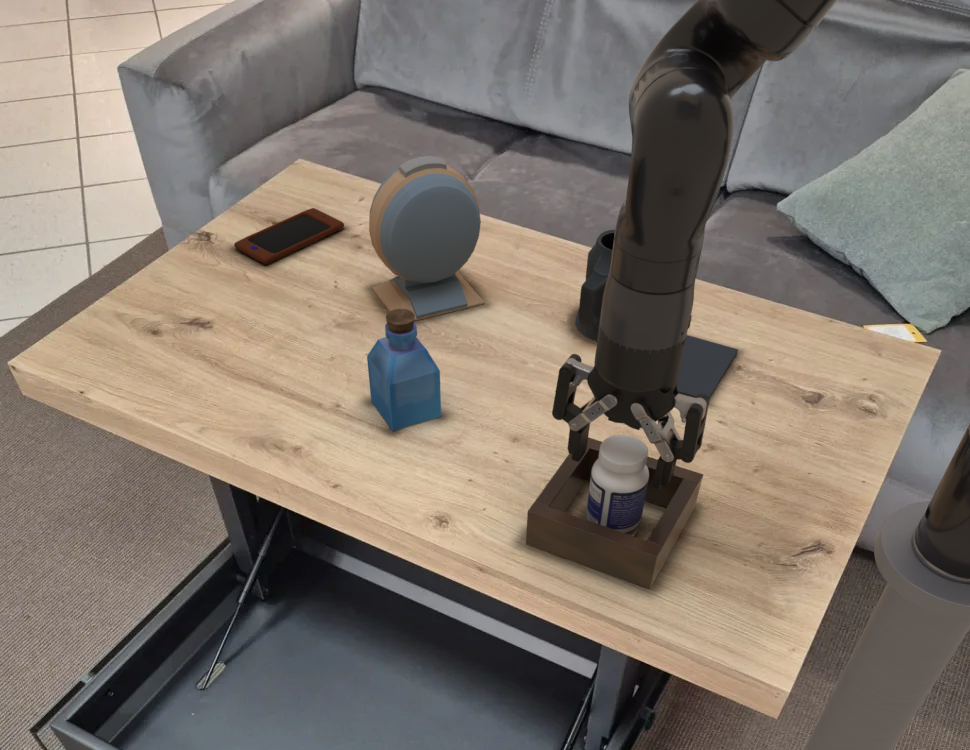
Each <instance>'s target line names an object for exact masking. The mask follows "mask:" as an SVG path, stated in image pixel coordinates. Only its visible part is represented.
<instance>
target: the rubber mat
mask: <svg viewBox="0 0 970 750" xmlns="http://www.w3.org/2000/svg"><path fill="white" fill-rule="evenodd" d="M738 352H739V349H738V348H735V347H731V346H727V345H724V344H722V343H721V344H720V343H717V342H713V341H710V340H706V339H702V338H699V337H695V336H692V335H688V334H687V336H686V341H685V345H684V350H683V355H682V359H681V364H680V369H679V373H678V378H677V388H678V391H679V394H682V395H686V396H690V397H694V398H696V397H697V395H699V394H701V393H703V394H706V395H707V396H708V397H709V400H710V399H711V397H712V396H713V394H714V392H715V391H716V389H717V387H718V386H719V384H720V382H721V381H722V379H723V377H724V375H725V374H726V373H727V371H728V369H729V368H730V366H731V365H732V362H733V360H735V358H736V356H737V354H738Z"/></svg>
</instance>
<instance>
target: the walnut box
mask: <svg viewBox="0 0 970 750" xmlns="http://www.w3.org/2000/svg"><path fill="white" fill-rule="evenodd" d="M602 442H603V441H601V440H599V439H595V438H591V437H589V436H588V443H587V449H586V452H585V454H584V455H583V457H582V458H581V460H580V461H579V462H577V461H574V460H572V454H570V453H569V452H568V455H567V456H566V458H565V459H564V460H563V462H562V463H561V464H560V466H559V467H558V468H557V470H556V471H555V473H554V474H553V476H552V477H551V478H550V479H549V481H548V483H547V484H546V485H545V486H544V488H543V489H542V490H541V492H540V494H539V495H538V496H537V498H536V499H535V501H534V502H533V503H532V505H531V506H530V507H529V509H528V510H527V517H526V533H525V545H528V546H530V547H533V548H536V549H539V550H541V551H544V552H547V553H550V554H551V555H552V554H553V555H555V556H557V557H561V558H563V559H565V560H569V561H572V562H575V563H577V564H579V565H582V566H586V567H589V568H591V569H594V570H597V571H599V572H602V573H604V574H607V575H610V576H612V577H615V578H619V579H621V580H624V581H627V582H630V583H632V584H635V585H637V586H639V587H643V588H645V589H648V590H650V589H651V588H652V587H653V585H654V583H655V581H656V579H657V577H658V575H659V574H660V572H661V570H662V568H663V566H664V565H665V563H666V561H667V559H668V557H669V555H670V553H671V552H672V550H673V548H674V547H675V545H676V543H677V541H678V539H679V537H680V536H681V534H682V532H683V530H684V528H685V526H686V524H687V523H688V521H689V519H690V517H691V515H692V514H693V512H694V510H695V508H696V506H697V503H698V502H697V501H698V497H699V494H700V489H701V487H702V486H701V485H702V481H703V477H704V474H703V473H701V472H697V471H694V470H691V469H688V468H685V467H681V466H679V465H676V466H675V470H674V474H673V476H672V478H671V480H670V481H669V483H668V484H667V485H666V486H663V485H662V486H661V488H660V490H658V489H655V488H652V485H653V481H654V476H655V471H656V466H657V462H658V458H654V457H651V456H648V457H647V463H646V466H647V468H648V471H649V479H648V485H647V490H646V496H645V501H644V502H649V503H651V504H654V505H657V506H660V507H663V508H665V510H664V511H663V513H662V515H661V517H660V518H659V520H658V522H657V524H656V525H655V527H654V529H653V530H652V532H651V534H650V535H649V538H648V539H647V540H646V539H643V538H640V537H637V536H635V535H634V536H631V535H628V534H625V533H622V532H620V531H617V530H614V529H611V528H608V527H605V526H602V525H600V524H597V523H594V522H591V521H588V520H586V518H582V517H580V516H576V515H574V514H571V513H568V512H566V511H567V509H568V508H569V506H570V505H571V503H572V502H573V501H574V499H575V498H576V496H577V494H578V493H579V492H580V490H581V489H582V487H583V485H584V484H585V483H586V482H588V483H590V479H591V471H592V467H593V465H594V463H595V461H596V460H597V459H598V458H599V450H600V445H601V443H602Z"/></svg>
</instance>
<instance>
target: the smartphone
mask: <svg viewBox="0 0 970 750" xmlns="http://www.w3.org/2000/svg"><path fill="white" fill-rule="evenodd" d="M343 228H345V223H344V222H343V221H342V220H339V219H337V218H336V217H334V216H331V215H329V214H327V213H326V212H323V211H321V210H319V209H318V208H314V207H311V208H309V209H306V210H303V211H301V212H299V213H297V214H295V215H293V216H290V217H288V218H286V219H283V220H281V221H279V222H277V223H274V224H272V225H270V226H268V227H265V228H263V229H261V230H259V231H256V232H254V233H252V234H250V235H248V236H246V237H244V238H241V239H239V240H238V241H236V242H234V245H233V247H234V248H235V249H236V250H238V251H240V252H242V253H243V254H245V255H247V256H249V257H251V258H252V259H254V260H256V261H258V262H259V263H262V264H264V265H267V264H270V263H272V262H275V261H277V260H279V259H281V258H283V257H285V256H288V255H290V254H292V253H294V252H295V251H298V250H301V249H303V248H305V247H306V246H307V247H308V246H309V245H311V244H313V243H315V242H317V241H319V240H322V239H324V238H325V237H328V236H331V235H332V234H334V233H337V232H338V231H339V230H342V229H343Z"/></svg>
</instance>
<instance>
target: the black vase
mask: <svg viewBox="0 0 970 750" xmlns="http://www.w3.org/2000/svg"><path fill="white" fill-rule="evenodd" d="M615 229H616V228H614V229H609V230H605V231H603V232H601V233H600V234H599V235H598V236H597V238H596V240H595V244H594V245H593V246H592V247H591V249H590V250H588V252H587V261H586V268H585V269H586V271H585V281H584V282H583V283H582V285H581V287H580V293H579V294H580V295H579V306H578V310H577V313H576V315H575V319H574V324H575V327H576V330H577V331H578V332H579V333H580V334H581V335H582V336H584V337H586V338H588V339H590V340H592V341H595V342H597V339H598V331H599V324H600V316H601V309H602V301H603V295H604V290H605V286H606V282H607V279H608V275H609V271H610V266H611V258H612V251H613V243H614V234H615Z"/></svg>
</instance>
